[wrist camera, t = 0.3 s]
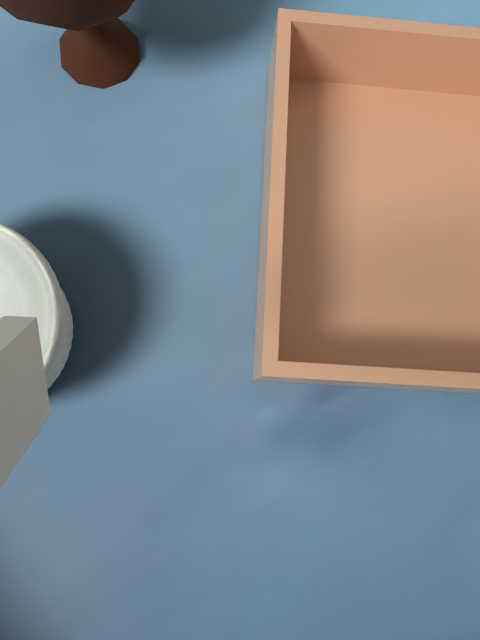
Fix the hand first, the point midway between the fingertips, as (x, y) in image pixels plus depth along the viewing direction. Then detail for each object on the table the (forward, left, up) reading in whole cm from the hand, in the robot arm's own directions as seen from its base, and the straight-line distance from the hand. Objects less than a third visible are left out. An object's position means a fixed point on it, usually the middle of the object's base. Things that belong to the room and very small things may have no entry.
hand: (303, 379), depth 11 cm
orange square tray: (+11, -11, -16) cm, 22 cm away
